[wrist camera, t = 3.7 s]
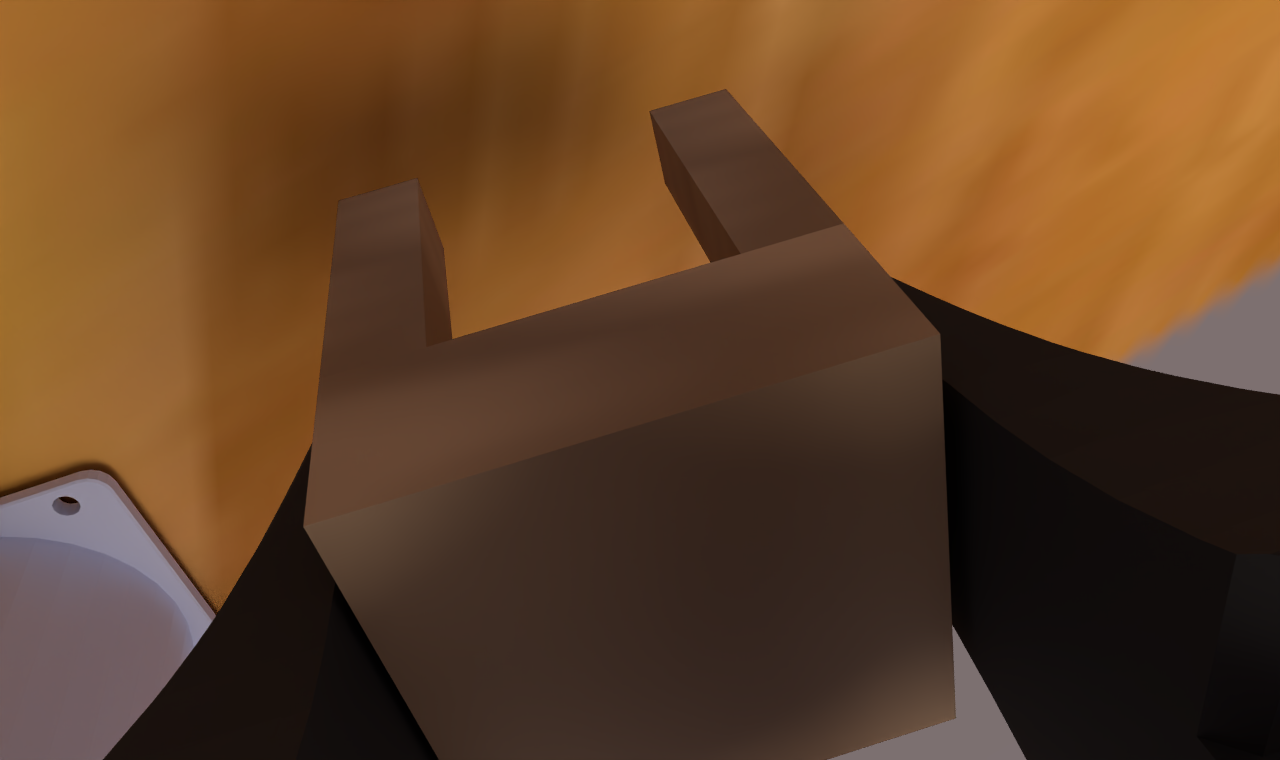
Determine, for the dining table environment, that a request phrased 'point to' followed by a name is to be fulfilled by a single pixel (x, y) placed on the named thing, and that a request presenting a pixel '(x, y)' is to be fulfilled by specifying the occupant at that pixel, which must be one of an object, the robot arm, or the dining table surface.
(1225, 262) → the dining table surface
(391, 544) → the stool
